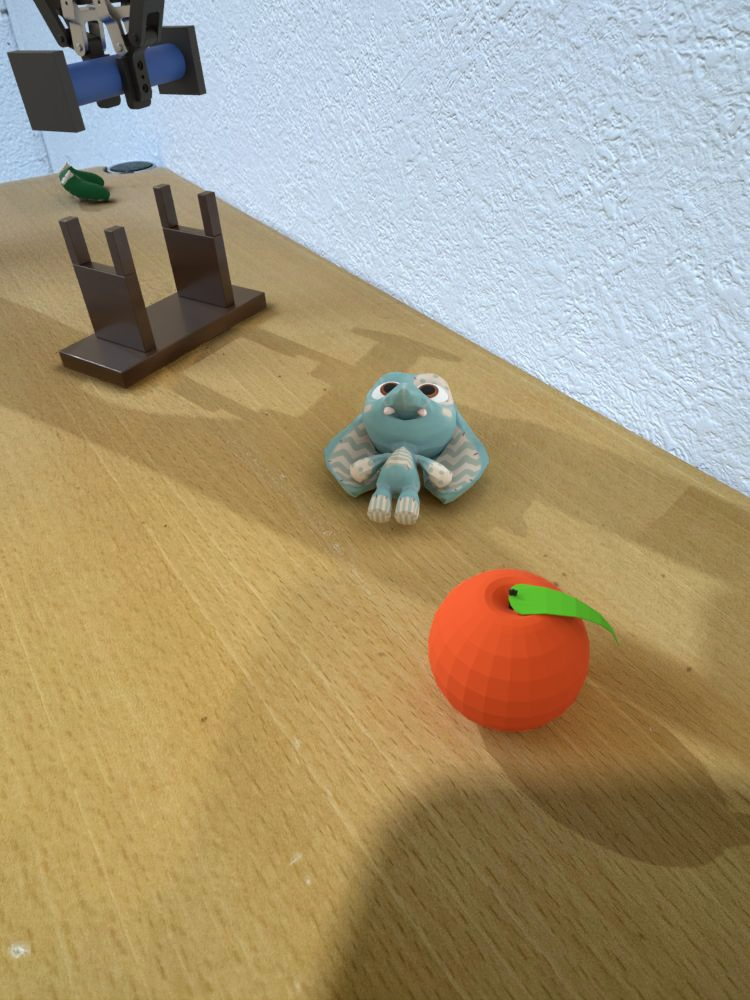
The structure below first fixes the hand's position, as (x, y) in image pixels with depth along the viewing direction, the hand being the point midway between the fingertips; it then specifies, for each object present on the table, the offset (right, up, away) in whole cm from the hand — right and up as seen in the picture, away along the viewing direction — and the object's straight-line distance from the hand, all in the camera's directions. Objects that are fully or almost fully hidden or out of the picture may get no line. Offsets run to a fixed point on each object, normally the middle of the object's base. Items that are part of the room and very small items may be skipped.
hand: (124, 106), depth 59 cm
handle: (0, 0, 0) cm, 0 cm away
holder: (+2, -18, +5) cm, 19 cm away
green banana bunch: (-21, +11, +43) cm, 49 cm away
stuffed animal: (+23, -32, -13) cm, 42 cm away
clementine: (+28, -43, -26) cm, 57 cm away
